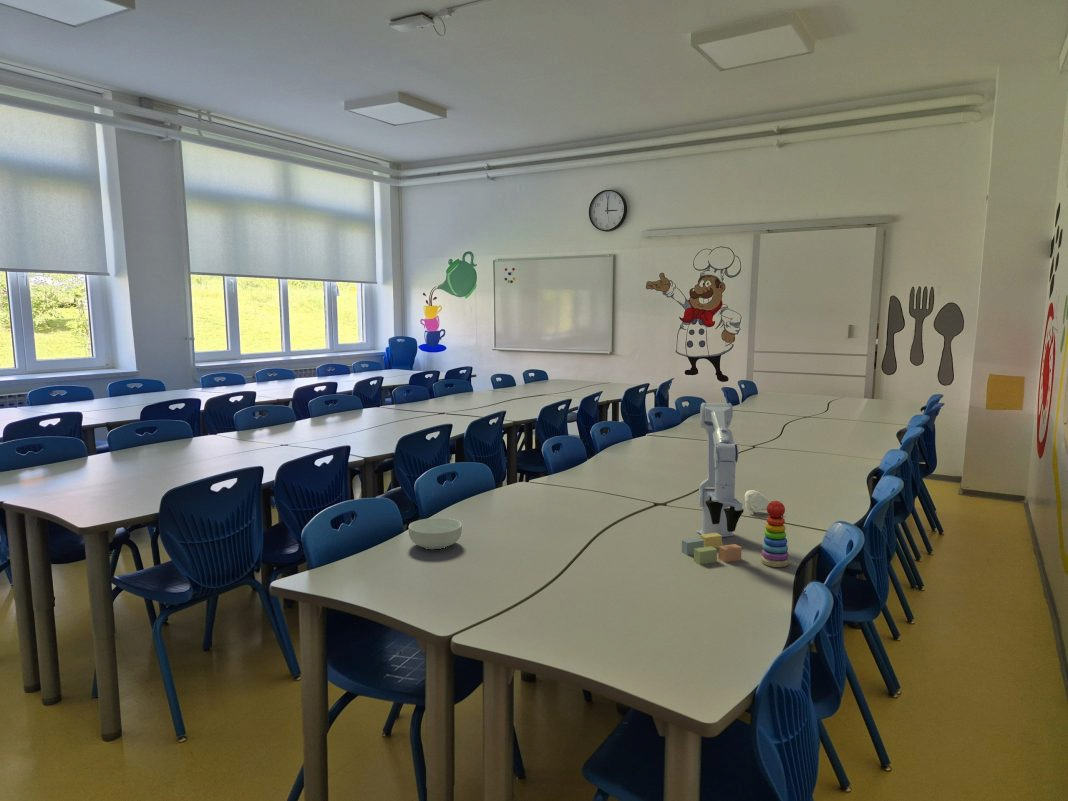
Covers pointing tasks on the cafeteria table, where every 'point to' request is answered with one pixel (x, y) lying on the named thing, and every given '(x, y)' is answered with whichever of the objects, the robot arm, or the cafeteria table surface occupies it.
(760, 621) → the cafeteria table surface
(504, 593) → the cafeteria table surface
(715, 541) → the mustard brick
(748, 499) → the white textured lump
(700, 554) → the olive brick
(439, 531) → the cereal bowl
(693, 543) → the slate brick
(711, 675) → the cafeteria table surface
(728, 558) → the terracotta brick
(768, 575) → the cafeteria table surface
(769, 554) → the stacking toy
